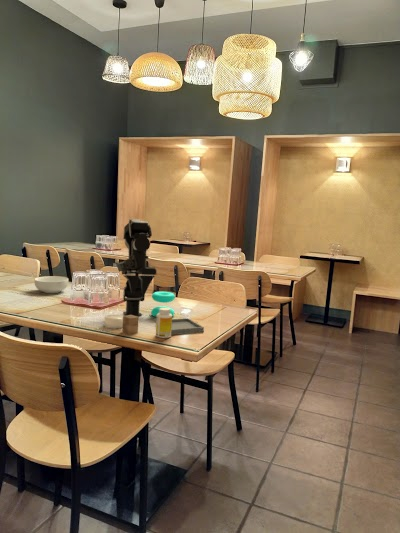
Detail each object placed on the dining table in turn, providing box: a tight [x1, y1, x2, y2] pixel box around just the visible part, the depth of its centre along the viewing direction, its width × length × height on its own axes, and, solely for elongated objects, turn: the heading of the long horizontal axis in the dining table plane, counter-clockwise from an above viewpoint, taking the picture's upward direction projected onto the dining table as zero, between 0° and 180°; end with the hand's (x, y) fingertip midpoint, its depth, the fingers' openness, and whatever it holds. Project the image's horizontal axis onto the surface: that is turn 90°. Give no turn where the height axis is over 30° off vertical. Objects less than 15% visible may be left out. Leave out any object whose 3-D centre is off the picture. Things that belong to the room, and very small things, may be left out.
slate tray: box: [156, 317, 205, 336], centre depth 161 cm, size 14×14×2 cm
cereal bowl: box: [34, 275, 69, 294], centre depth 214 cm, size 17×17×7 cm
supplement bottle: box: [155, 308, 173, 339], centre depth 149 cm, size 6×6×10 cm
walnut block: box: [121, 315, 139, 335], centre depth 152 cm, size 4×4×6 cm
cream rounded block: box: [103, 314, 124, 329], centre depth 159 cm, size 8×8×4 cm
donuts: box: [150, 291, 176, 318], centre depth 179 cm, size 10×10×10 cm
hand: (138, 293), depth 160 cm, fingers open, 9 cm apart
